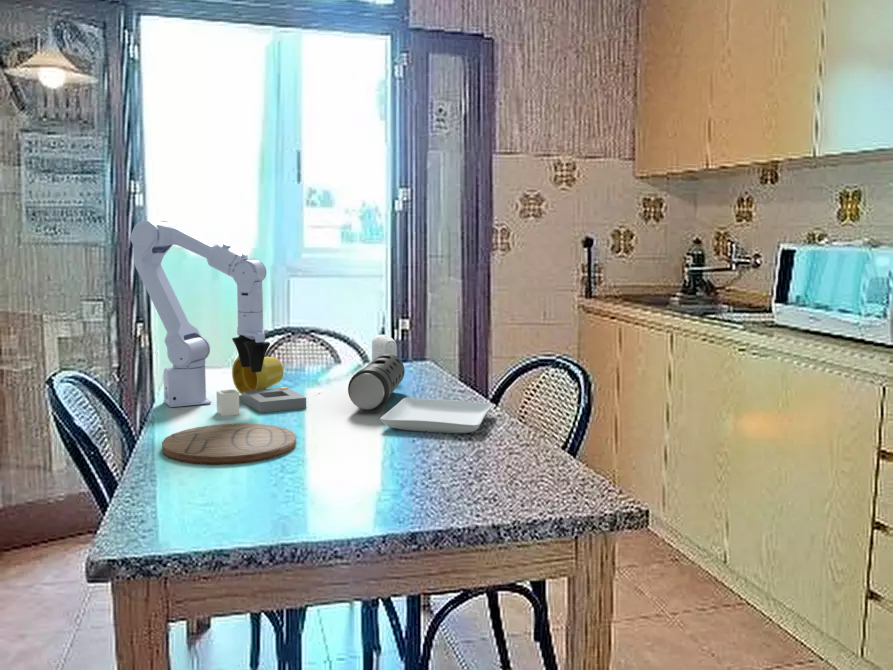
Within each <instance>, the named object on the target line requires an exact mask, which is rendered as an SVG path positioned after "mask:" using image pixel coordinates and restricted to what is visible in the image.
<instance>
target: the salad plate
mask: <svg viewBox="0 0 893 670" xmlns="http://www.w3.org/2000/svg"><path fill="white" fill-rule="evenodd" d="M493 407H494V404H493V403H487V402H480V401H479V402H477V401H466V400H454V399H439V398H438V399H437V398H418V397H417V398H416V397H404V398H402V399H401V400H400V401H399V402H398V403H397V404H396V405H394V406H393V407H392V408H390V410H388V411H387V412H386V413H384V414H383V415H382V416H381V417H380V422H382V424H384V425H385V426H387V427H389V428H392V429H397V430H401V431H412V432H413V431H414V432H426V431H427V432H428V433H444V434H468V433H469V434H470V433H472V432H475V431H477V430H478V429H479V428H480V426H481V424H483V423H482V422H483V421H484V419H485V417H486V415H487V414H488V413H489V412H490V411H491V410H492V408H493ZM427 432H426V433H427Z"/></svg>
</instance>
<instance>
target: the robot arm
mask: <svg viewBox="0 0 893 670" xmlns="http://www.w3.org/2000/svg"><path fill="white" fill-rule="evenodd" d="M129 239H130V242H131V244H132V247H133V263H134V267H135V269H136V271H137V272H138V273H137V274H138V275H139V278H140V279H141V282H142V283H143V285H144V287H145V290H146V292H147V294H148V296H149V297H150V300H151V302H152V304H153V306H154V308H155V310H156V312H157V315H158V316H159V319H160V320H161V322H162V325H163V326H164V329H165V331H166V336H165V337H164V343H165V346H166V348H167V353H166V354H167V358H168V360H169V362H170V363H171V364H172V366H171V367H166V368H164V370H163V401H164V403H165V404H167V406H168V407H169V408H175V407H188V406H196V405H197V406H198V405H199V406H200V405H207V404H211V403H212V401H211V400H210V399H208V398H207V389H206V388H207V384H206V382H207V381H206V380H207V379H206V359H208V357H209V355H210V352H211V346H210V343H209V341H208V340H207V339H206V338H205V337H203V335H202V334H201V332H200V331H199V329H198V328H197V327H195V326H194V325H193V324H191V323H190V322H189V320H188V317H187V315H186V314H185V311H184V309H183V307H182V305H181V304H180V302H179V299H178V297H177V295H176V293H175V291H174V289H173V287H172V284H171V282H170V281H169V279H168V277H167V275H166V273H165V271H164V268H163V267H162V262H163V259H164V257H165V255H166V253H168V251H169V250H170V249H171V247H173V246H174V245H175V246H179V247H180V248H183V249H185V250H187V251H190V252H192V253H195V254H196V255H199V256H201V257H202V258H205V259H206V262H207V264H208V266H209V267H211V268H213V269H215V270H217V271H219V272H221V273H222V274H225V275H226V276H228V277H231V278H232V279H233V281H234V282H235V284H236V289H237V290H236V291H237V294H236V295H237V329H236V334H237V335H236V336H237V337H235V336H234V337H232V338H231V339H232V342H233V343H234V346H235V347H236V350H237V354H238V357H239V359H240V363H241V366H242V367H250V368H251V371H252V372H261V370H262V366H263V361H264V357H266V354H267V352H268V349H269V347H270V345H271V342H269V341H266V334H268V333H269V330H268V329H267V328H264V303H263V302H264V301H263V300H264V299H263V298H264V297H263V295H264V294H263V293H264V291H263V281H264V280H265V279H266V276H267V268H266V266H265V264H264V263H263V262H262V261H261V260H259V259H258V258H250V259H249V258H248V257H249V256H248V254H247V253H242V254H241V253H239V252H237V251H236V250H234V249H231V245H230V244H228V243H223V244H222V243H218V244H215V245H212V244H210V243H209V242H207V241H206V240H204V239H202V238H199V237H198V236H196V235H195V234H193V233H192V232H189V231H188V230H186V229H184V228H183V227H181V226H179V225H177V224H173V223H171V222H170V221H167V220H161V221H150V220H141V221H138V222H137V223H136V224H135V225H134V227H133V229H132V231H131V234H130V236H129Z"/></svg>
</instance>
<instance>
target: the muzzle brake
mask: <svg viewBox="0 0 893 670" xmlns="http://www.w3.org/2000/svg"><path fill="white" fill-rule="evenodd" d="M381 364H384V365H381ZM405 372H406V371H405V365H404V363H403V361H402V360H401V358H399V357H398V355H397V356H395V355H392V354H382V355H380V356H378V357H377V358H375V359H374V360H373V361H372V360H371V361H370V363H368V364H367V365H366V366H365V367H363V368H362V369H359V370H358V371H357V372H356V373H354V374H353V376H352V377H351V378H350V380H349V382H348V384H347V385H348V386H347V392H348V396H349V399H350V401H351V402H352V403H353V404H354V406H356V407H357V408H358V409H360V410H364V411H374V410H377V409H379V408H381V407H382V406H384V405H385V404H386V402H387V401H388V400H389V399H390V397H391V394H392V393H393V392H394V390H395V389H397V387H398V386H399V385H400V384H401V382H402V381H403V379H404V377H405V374H406V373H405Z"/></svg>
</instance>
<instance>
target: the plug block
mask: <svg viewBox="0 0 893 670" xmlns="http://www.w3.org/2000/svg"><path fill="white" fill-rule="evenodd" d="M216 413H217V414H218V415H220V416H221V417H225V416H233V415H235V416H236V415H240V393H239V392H238V390H237V389H236V390H235V389H223V390H222V389H221V390H216Z"/></svg>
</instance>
